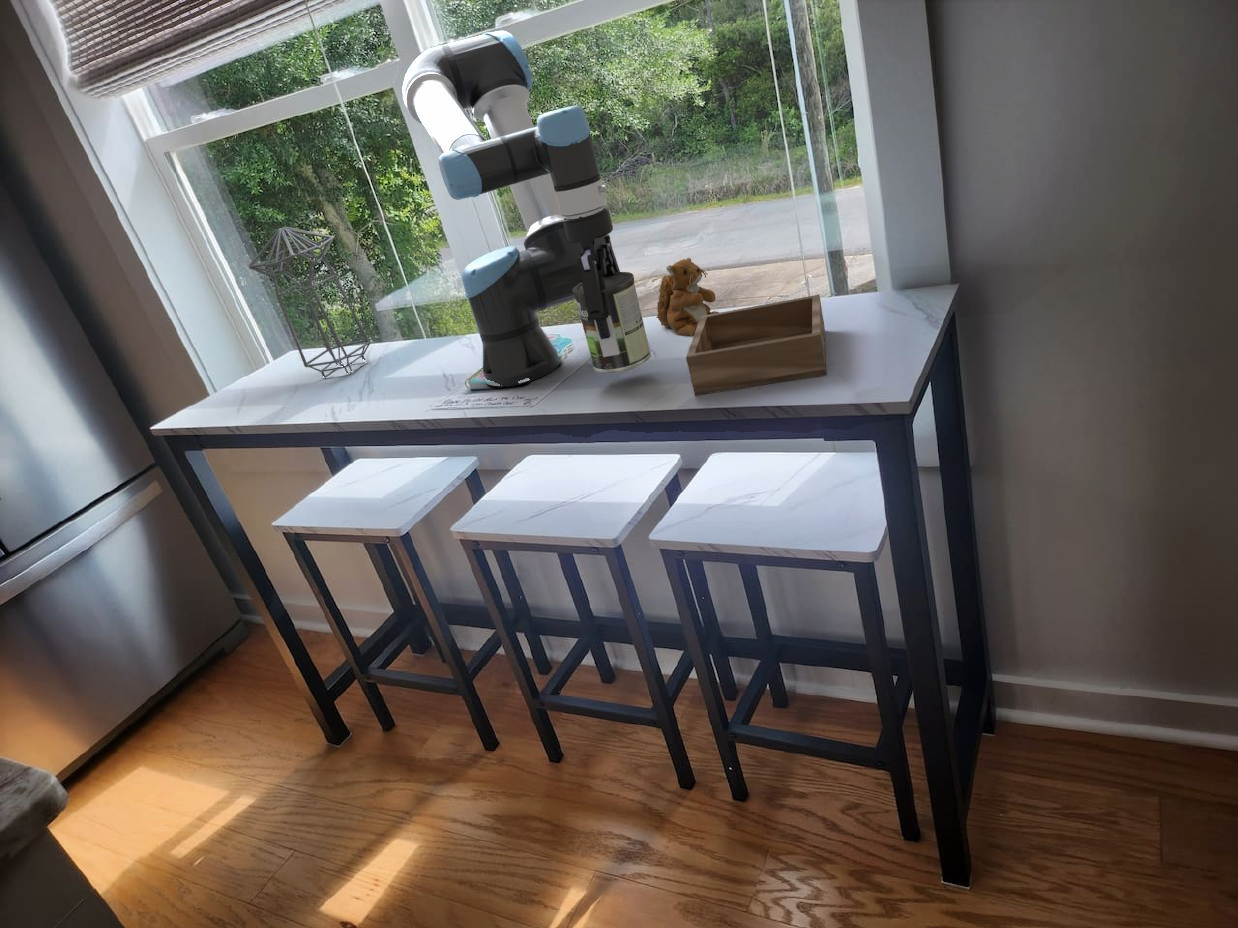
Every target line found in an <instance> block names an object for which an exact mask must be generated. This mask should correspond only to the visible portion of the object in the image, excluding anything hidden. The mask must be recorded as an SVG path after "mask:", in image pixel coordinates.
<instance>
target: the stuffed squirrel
mask: <svg viewBox="0 0 1238 928" xmlns="http://www.w3.org/2000/svg"><path fill="white" fill-rule="evenodd" d="M665 270H666V271H667V273H669V274H668V275H667V274H666V275H664V276H663V277H661V283H660V287H659V290H658V291H659V295H658V301H657V306H656V311H657V316H656V317H655V319H658V321H659V322H660V326H663V327H664V328H667V329H672V330H673V332H674V333H675V334H676V335H680V336H688V337H691V336H694V334H695V331H696V329H697V326H698V323H699V320H700V318H701V316H704V315H709V314H715V313H720V312H719V311H715V310H713V311H711V307H710V306H709V305H708V304H706V303H713V302H715V301H716V293H715V292H714V291H713V290H711V289H706V288H704V287H702V286H700V285H698V284H699V282H700V281H701V280H702V277H703V275H704V278H707V275H708V273H707V272H706V271H705V270H703V269H701V268H700V266H698V265H697V263H695V262H693V261H692V259H691V257H687V258H683V259H680V260H679V261H675V262H674V263H673V264H672V265H667V266H666V268H665ZM704 302H706V303H704Z"/></svg>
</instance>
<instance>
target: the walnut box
mask: <svg viewBox="0 0 1238 928" xmlns="http://www.w3.org/2000/svg"><path fill="white" fill-rule="evenodd" d="M820 295H821V294H815V295H814V294H813V295H810V296H809V295H808V296H804V297H797V298H791V299H788V300H782V301H777V302H776V301H775V302H770V303H765V304H759V305H755V306H749V307H743V308H738V309H733V310H727V311H721V312H720V313H715V314H709V315H704V316H701V318H700V320H699V323H698V326H697V329H696V331H695V334H694V335H693V337H692V340H691V343H690V345H689V348H688V351H687V353H686V356H685V358H686V363H687V367H688V373H689V378H690V381H691V385H692V389H693V393H694V397H695V396H700V395H708V394H713V393H714V394H715V393H721V392H726V391H733V390H740V389H746V388H747V389H748V388H751V387H752V388H753V387H758V386H759V387H760V386H766V385H771V384H772V385H773V384H777V383H784V382H785V383H786V382H790V381H797V380H805V379H811V378H817V377H823V376H824V377H825V376H827V375H828V374H827V351H826V350H827V349H826V346H827V345H826V328H825V327H826V326H825V322H824V315H823V308H822V303H821V296H820Z"/></svg>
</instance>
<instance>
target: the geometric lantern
mask: <svg viewBox="0 0 1238 928" xmlns="http://www.w3.org/2000/svg"><path fill="white" fill-rule="evenodd" d="M287 235H288V236H289V238H290V239H291V241H292V242H293V244H294V245H295V246H292V245H291V243H290V241H289V239H288V236H287ZM304 235H307V236H313V237H319V238H322V239H320V240H318V241H315V240H312V239H311V238H308V237H306V236H304ZM334 239H336V236H333V235H329V234H323V233H320V232H319V233H318V232H315V231H310V230H304V229H300V228H299V229H298V228H294V227H290V226H282V227H279V228H278V229H277V230H276V232H275V233H274V235H272V237H271V238H270V239H269V241H268V242H266V245H264V246H263V248H262V249H261V250H260V251H259V252H258V253H257V255H256V256H255V257H254V259H253V260H252V261H251V262H250V263H249V265H248V268H249V269H250V270H253V271H255V272H258V273H260V274H261V275H262V274H263V275H265V276H267V277H270V278H273V282H274V288H275V293H276V294H275V295H276V299H277V302H278V304H279V306H280V309H281V310H282V313H283V315H284V318H285V321H286V323H287V326H288V327H289V330H290V333H291V334H292V337H293V339H294V341H295V344H296V345H295V346H296V347H297V350H298V353H299V355H300V358H301V361H302V363H303V366H304V367H305V368H310V369H312V370H315V371H318V372H320V373H321V375H322V377H323V376H324V377H325V375H326V374H325V373H324V372H329V371H330V372H331V371H333V370H335V369H337V370H340V369H344V370H345V372H346V373H345V374H347V373H348V374H349V371H350V372H351V371H353V369H352V367H351V365H350V364H352V363H356V361H358V360H359V359H360V358H361V359H362V360H363V359H364V360H366V358H365V356H364V355H365V354H366V352H367V350H368V348H369V346H370V345H371V341H370V339H369V337H368V335H367V333H366V332H365V330H364V327H363V326H362V324H361V322H360V321H359V318H358V316H357V314H356V312H355V311H354V309H353V307H352V305H351V303H350V301H349V299H348V296H347V295H346V291H345V290H344V288H343V286H342V284H341V282H340V280H339V278H338V275H337V272H335V270H334V269H333V268H332V266H331V264H330V262H329V261H328V260H327V257H326V255H327V252H328V251H329V249H330V247H331V245H332V243H333V240H334ZM272 242H273V245H272V247H271V249H270V251H269V254H268V257H267V260H264V261H261V262H257V263H256V261H258V259H259V258H260V257H261V256H262V254H263V253H264V252H265V251H266V250H267V249H268V247H270V245H271V244H272ZM281 244H282V250H281V251H280V249H281ZM285 245H286V247H287V249H285ZM298 245H299V246H298ZM275 249H276V254H275V258H273V254H274V252H275ZM303 249H304V250H303ZM316 249H318V250H319V251H320V253H319V255H315V252H314V251H315V250H316ZM286 252H289V254H290V255H288V256H286V257H285V253H286ZM294 252H296V253H294ZM310 254H311V255H310ZM280 256H281V257H280ZM297 256H300V257H301V258H302V259H305V260H307V261H308V262H309V263H310V266H309V270H308V271H309V272H308V279H306V280H303V281H302V280H300V279H299V278H298V277H296V276H294V275H293V274H292V273H290V272H288V271H286V270H287V268H288V267H289V265H290V263H291V261H292V259H293V258H294V257H297ZM272 258H273V259H272ZM285 261H287V262H286V263H285V265H284V262H285ZM321 261H322V262H323V263H324V265H325V266H326V267H327V269H328V271H330V272H331V273H330V274H326V275H321V276H318V277H314V278H313V276H314V270H315V266H316V265H317V264H318V263H319V264H320V263H321ZM273 265H274V266H275V267H276V268H277V269H275V270H274V269H273V267H272V266H273ZM263 267H266V268H263ZM278 272H279V273H278ZM275 273H276V274H275ZM282 275H284V276H285V277H286V278H288V279H289V280H290V281H292V282H293V284H295V285H293V286H290V287H289V288H286V289H284V290H283V291H281V292H280V289H279V285H278V282H277V281H278V280H277V278H278V277H281V276H282ZM326 277H327V278H326ZM324 278H325V279H324ZM319 279H324V280H321V281H319V282H318V283H315V284H312V282H313V281H315V280H319ZM331 279H333V280H334V281H335V283H336V285H337V287H338V289H339V291H340V293H341V295H342V296H343V298H344V300H345V302H346V305H347V306H348V308H349V310H350V312H351V314H352V316H353V318H354V320H355V322H356V325H357V326H358V329H359V330H360V332H361V336H362V337H363V339H361V340H357V341H353V342H348V343H344V344H343V343H342V342H341V340H340V339H339V336H338V334H337V333H336V330H335V328H334V326H333V325H332V322H331V320H330V318H329V316H328V315H327V312H326V310H325V308H324V307H323V305H322V303H321V300H320V298H319V297H318V295H317V293H316V290H315V289H314V287H317V286H319V285H321V284H323V283H325V282H327V281H329V280H331ZM306 283H308V287H306V286H305V285H304V284H306ZM295 287H300V288H301V289H297V290H293V291H290V290H292V289H294V288H295ZM305 287H306V288H305ZM309 290H310V291H311V292H312V294H313V296H314V297H315V301H316V302H317V304H318V306H319V309H320V311H321V312H322V316H323V317H324V320H325V321H326V324H327V326H328V328H329V331H330V332H331V335H332V337H333V339H334V342H335V344H336V346H335V345H334V346H333V347H331V344H330V342H329V340H328V338H327V336H326V333H325V331H324V328H323V326H322V324H321V322H320V320H319V317H318V315H317V313H316V311H315V309H314V306H313V304H312V301H311V299H310V297H309V294H308V292H307V291H309ZM288 291H289V292H288ZM300 292H303V294H304V295H305V298H306V300H307V303H308V306H309V308H310V311H311V313H312V316H313V318H314V320H315V323H316V325H317V329H318V331H319V333H320V334H319V335H320V336H321V339H322V341H323V343H324V347H325V350H323V351H322V352H321V353H319V354H318V355H316V356H315V357H313V358H311V359H310V360H308V361H307V360H306V358H305V356H304V353H303V350H302V347H301V346H300V343H299V341H298V338H297V336H296V333H295V331H294V327H293V326H292V322H291V320H290V316H289V314H288V311H287V309H286V306H285V303H284V300H283V298H282V296H286V295H291V294H295V293H300ZM361 343H362V345H361V346H359V347H358V348H356V349H355V350H353V351H351V352H349V353H348V354H347V352H346V350H345V348H344V347H347V346H353V345H358V344H361ZM363 343H364V344H363ZM335 349H338V350H337V351H338V353H337V354H338V358H337V359H336V356H335V354H334V352H333V350H335ZM360 350H361V352H360V353H357V352H359V351H360ZM341 351H342V353H343V355H344V356H342V357H341ZM327 353H329V354H330V356H331V358H332V359H333V360H330V361H324V362H319V363H318V362H317V363H313V362H314V361H315V360H317V359H318V358H320V357H322V356H324V354H327ZM355 353H357V354H355ZM357 356H358V357H357ZM354 357H356V358H355V359H353V360H352V361H351V362H350V361H349V359H350V358H354ZM345 359H346V364H347V365H346V366H344V363H343V362H342V361H344V360H345ZM311 363H312V364H311ZM341 363H342V364H341ZM333 364H335V365H336V367H332V368H329V367H330V366H332V365H333ZM338 364H339V365H338ZM324 365H326V366H324ZM337 365H338V366H343V367H337ZM317 366H324V367H323V368H322V369H319V368H317ZM347 368H349V371H348V370H347ZM335 371H336V370H335Z"/></svg>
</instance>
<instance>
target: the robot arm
mask: <svg viewBox="0 0 1238 928" xmlns="http://www.w3.org/2000/svg"><path fill="white" fill-rule="evenodd" d="M528 64H529V62H528V59H527V56H526V54H525V51H524V49H523V48H522V46H521V44H520V42H519V41H518V40H517V39H516V37H515V36H514V35H513V34H512V33H510V32H508V31H506V30H497V31H493V32H490V31H487V32H484V33H482V34H480V35H478V36H474V37H469V38H466V39H461V40H458V41H455V42H454V41H452V42H450V43H446V44H442V45H437V46H434V47H431V48H429V49H427V50H425V51H424V52H423V53H421V54H420V55H419V56H418V57H416V58H415V60H414V61H413V62H412V63H411V65H410V66H409V68H408V69H407V72H406V73H405V76H404V79H403V83H402V99H403V102H404V106H405V107H406V109H407V111H408V113H409V115H410V116H411V117H412V119H414V120H415V121H416V122H417V123H419V124H421V125H423V126H424V128H425V129H426V131H427V133H428V134H429V136H430V137H431V140H432V141H433V142H434V144H435V145H436V147H437V148H438V150H439V152H440V153H441V155H440V156H439V157H438V166H439V170H440V173H441V174H440V175H441V176H442V181H443V183H444V185H445V188H446V190H447V192H448V195H449V196H450V197H451V198H452V199H453V200H457V201H459V200H464V199H469V198H476V197H479V196H480V195H483V194H487V193H489V192H493V191H497V190H499V189H503V188H506V187H509V188H510V190H511V193H512V196H513V198H514V202H515V203H516V207H517V209H518V211H519V214H520V217H521V220H522V222H523V224H524V227H525V229H526V236H525V238H524V239H523V240H524V241H523V247H524V248H525V250H522V251H520V250H519V249H518V248H517V247H516V246H514V245H509V246H505V247H502V248H499V249H498V248H497V249H495V250H493V251H490V252H488V253H486V254H484V255H482V256H479V257H478V258H476V259H475V260H473V261H471V262H470V263H469V264H467V265H466V266H465V268H464V269H463V271H462V272H461V280H462V284H463V288H464V293H465V297H466V298H467V300H468V303H469V304H470V305H469V306H470V309H471V312H472V316H473V317H474V321H475V325H476V328H477V331H478V335H479V336H480V339H481V343H482V375H483V378H484V377H485V378H486V379H487V380H490V381H494V382H495V383H498V384H500V387H499V388H507V387H514V386H519V385H520V384H519V383H518V381H520V380H523V379H525V378H529V379H530V380H531V381H530V382H532V381H535V380H537V379H540V378H542V377H544V376H546V375H548V374H550V373H551V372H553V371H554V370H555V369H557V368H558V367H559V365H560V363H561V360H559V359H560V357H559V352H558V350H557V348H556V347H555V346H554V344H553V343H552V341H551V340H550V338H549V337H548V336H547V334H546V333H545V331H544V329H543V328H542V326H541V324H540V321H539V317H538V312H542V311H546V310H547V309H548V310H549V309H551V308H554V307H557V306H560V305H564V304H566V303H569V302H573V301H576V299H575V295H574V294H573V288H574V287H575V286H576V285H577V284H579V283H581V282H582V285H583V290H584V296H585V301H586V307H587V313H588V317H587V319H588V321H593V320H594V323H595V327H596V330H597V334H598V338H599V342H600V346H601V349H602V353H603V357H607V356H613V355H619V354H620V350H619V346H618V343H617V339H616V335H615V331H614V327H613V323H612V319H611V315H610V316H608V309H607V302H606V298H605V295H604V291H603V290H604V289H605V281H604V277H608V276H614V275H615V272H621V271H620V267H619V265H618V264H619V263H618V262H617V261H618V260H617V258H616V255H615V252H614V249H613V245H612V242H611V237H610V233H612V232H613V229H614V227H613V222H612V219H611V214H610V210H609V208H607V207H606V205H607V199H606V194H605V192H607V190H608V188H607V186H606V185H605V184H602V183H603V182H602V179H601V173H600V169H599V163H598V160H597V156H596V152H595V148H594V143H593V140H592V139H593V138H592V135H591V127H590V124H589V123H588V119H587V116H586V113H585V110H584V109H583V107H582V106H580V105H579V104H578V105H572V106H565V107H562V108H557V109H555V110H554V109H553V110H551V111H547V112H545V113H542V114H540V115H538V116H537V119H536V124H535V125H534V123H533V120H532V118H531V116H530V113H529V110H528V108H527V104H528V102H529V99H530V92H529V91H530V90H531V89H532V87H533V76H532V72H531V68H530V66H529V65H528ZM468 108H469V109H471V112H472V114H473V116H474V118H475V119H476V120H478V121H482V122H483V123H484V124H485V126H486V128H487V131H488V134H489V137H490V139H486V138H485V136H484V135H483V133H482V132H481V130H480V129H479V128H478V127H477V125H476V124H475V122H474V121H473V119H472V118H471V117H470V115H469V114H468V112H467V111H466V110H465V109H468ZM601 291H603V292H601ZM596 310H599V311H596ZM485 378H484V379H485ZM501 385H502V387H501ZM504 386H505V387H504Z"/></svg>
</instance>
